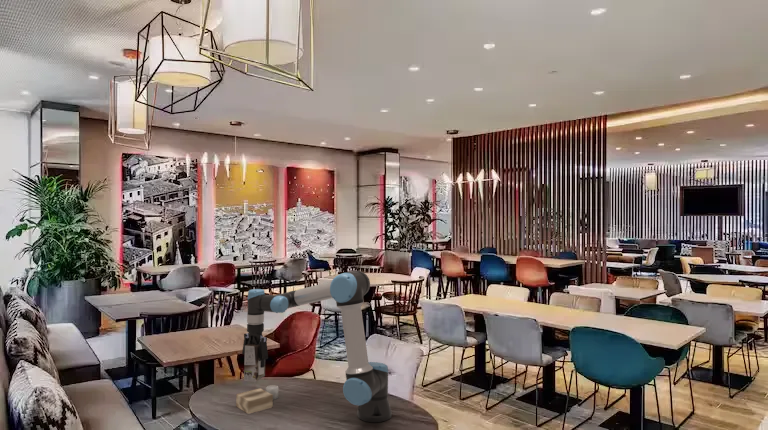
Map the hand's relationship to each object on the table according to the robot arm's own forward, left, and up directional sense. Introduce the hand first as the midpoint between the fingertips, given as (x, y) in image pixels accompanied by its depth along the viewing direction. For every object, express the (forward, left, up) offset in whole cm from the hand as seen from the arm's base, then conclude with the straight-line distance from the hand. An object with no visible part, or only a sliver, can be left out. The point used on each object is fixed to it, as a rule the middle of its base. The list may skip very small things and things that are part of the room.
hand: (254, 372), depth 224 cm
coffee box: (0, 0, -3) cm, 3 cm away
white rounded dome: (+3, -13, -16) cm, 21 cm away
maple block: (0, 0, -16) cm, 16 cm away
